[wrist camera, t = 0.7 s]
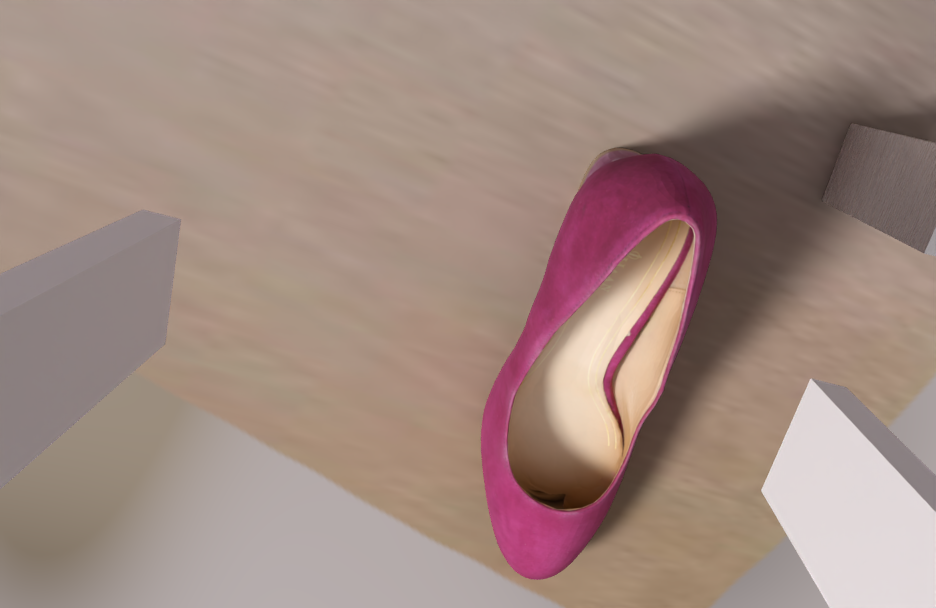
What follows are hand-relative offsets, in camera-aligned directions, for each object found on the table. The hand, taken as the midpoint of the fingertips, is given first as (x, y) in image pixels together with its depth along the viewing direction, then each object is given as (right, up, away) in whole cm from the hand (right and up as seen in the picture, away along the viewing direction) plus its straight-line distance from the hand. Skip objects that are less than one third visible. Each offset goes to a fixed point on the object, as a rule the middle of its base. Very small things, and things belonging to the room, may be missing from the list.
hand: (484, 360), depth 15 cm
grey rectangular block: (+20, +8, +23) cm, 31 cm away
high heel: (+6, -2, +27) cm, 28 cm away
